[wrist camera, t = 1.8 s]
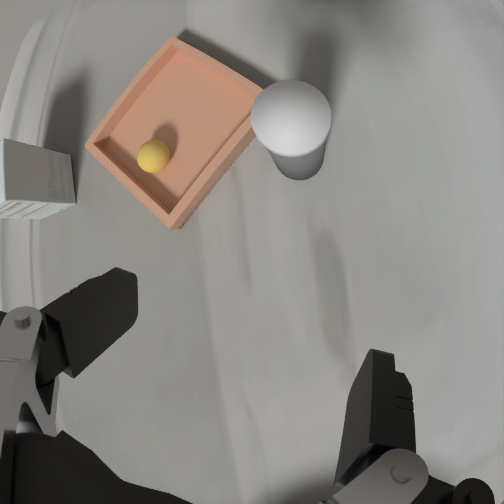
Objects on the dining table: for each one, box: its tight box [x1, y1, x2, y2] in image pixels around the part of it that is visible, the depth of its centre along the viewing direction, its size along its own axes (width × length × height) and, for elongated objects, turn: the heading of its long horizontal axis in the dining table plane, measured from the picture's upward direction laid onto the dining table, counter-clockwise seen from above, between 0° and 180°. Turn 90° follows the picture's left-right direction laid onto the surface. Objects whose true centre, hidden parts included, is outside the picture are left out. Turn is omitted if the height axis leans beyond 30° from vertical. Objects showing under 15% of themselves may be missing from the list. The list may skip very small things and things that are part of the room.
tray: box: [84, 36, 264, 229], centre depth 33 cm, size 17×16×3 cm
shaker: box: [251, 80, 331, 180], centre depth 26 cm, size 5×5×12 cm
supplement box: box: [0, 138, 76, 219], centre depth 32 cm, size 7×7×13 cm
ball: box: [137, 140, 170, 173], centre depth 32 cm, size 4×4×4 cm
